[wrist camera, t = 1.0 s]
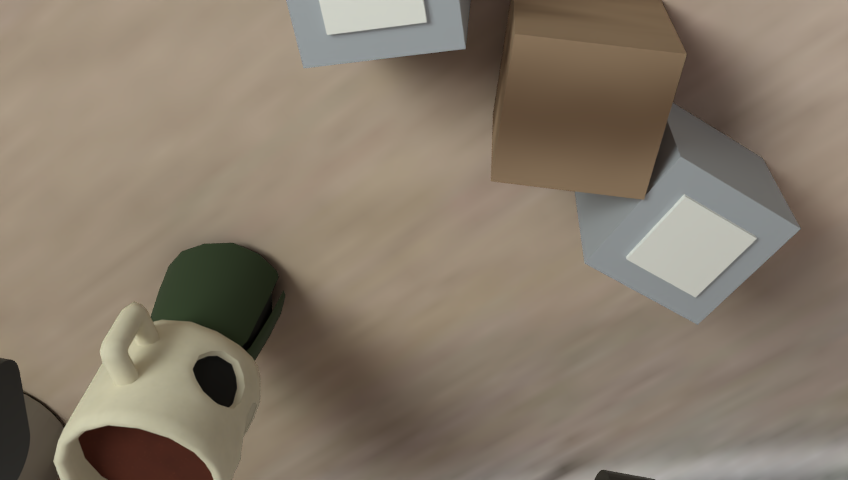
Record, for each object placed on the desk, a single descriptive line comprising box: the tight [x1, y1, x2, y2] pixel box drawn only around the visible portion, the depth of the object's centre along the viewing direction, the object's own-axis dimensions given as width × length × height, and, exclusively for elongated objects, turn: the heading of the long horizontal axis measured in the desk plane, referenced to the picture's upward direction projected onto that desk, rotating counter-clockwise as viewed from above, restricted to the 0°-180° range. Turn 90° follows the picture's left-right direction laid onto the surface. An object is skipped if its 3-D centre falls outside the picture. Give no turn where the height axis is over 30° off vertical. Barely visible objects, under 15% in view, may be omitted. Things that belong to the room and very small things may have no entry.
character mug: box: [53, 243, 285, 480], centre depth 38 cm, size 11×7×13 cm, turn 11°
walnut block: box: [491, 0, 687, 200], centre depth 32 cm, size 6×6×6 cm
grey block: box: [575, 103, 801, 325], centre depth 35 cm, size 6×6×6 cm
